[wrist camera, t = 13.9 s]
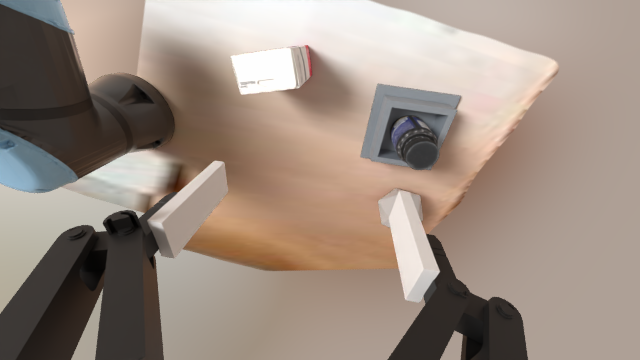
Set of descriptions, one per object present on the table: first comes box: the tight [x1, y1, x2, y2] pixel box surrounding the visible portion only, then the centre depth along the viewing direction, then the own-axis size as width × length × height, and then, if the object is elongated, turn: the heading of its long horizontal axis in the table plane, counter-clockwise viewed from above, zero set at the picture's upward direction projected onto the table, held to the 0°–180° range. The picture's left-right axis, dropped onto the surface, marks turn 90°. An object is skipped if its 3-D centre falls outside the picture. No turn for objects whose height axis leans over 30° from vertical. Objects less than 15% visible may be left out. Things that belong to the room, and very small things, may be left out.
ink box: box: [230, 45, 312, 95], centre depth 34 cm, size 8×5×12 cm, turn 98°
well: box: [360, 84, 461, 170], centre depth 40 cm, size 14×14×4 cm
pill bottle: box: [390, 115, 439, 170], centre depth 37 cm, size 6×6×11 cm
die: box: [378, 188, 423, 228], centre depth 48 cm, size 8×9×10 cm
